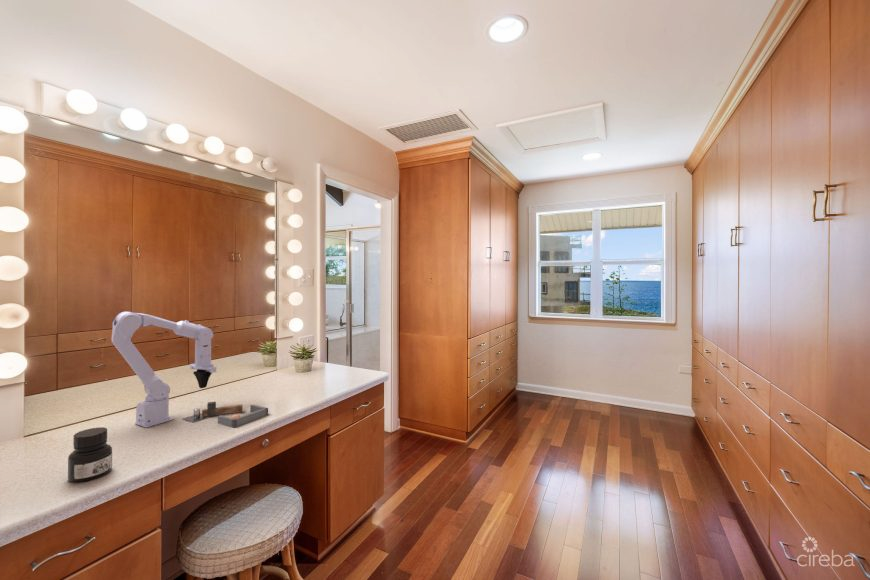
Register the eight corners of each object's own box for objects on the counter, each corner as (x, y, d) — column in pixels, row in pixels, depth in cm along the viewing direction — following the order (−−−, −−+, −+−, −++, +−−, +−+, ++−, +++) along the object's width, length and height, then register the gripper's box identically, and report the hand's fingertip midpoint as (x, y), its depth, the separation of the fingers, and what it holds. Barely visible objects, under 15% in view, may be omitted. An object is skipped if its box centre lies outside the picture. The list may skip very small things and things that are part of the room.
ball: (232, 412, 139) (232, 420, 139) (228, 417, 135) (228, 425, 136) (242, 412, 139) (242, 421, 140) (238, 417, 136) (238, 425, 136)
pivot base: (193, 422, 138) (193, 413, 138) (182, 419, 141) (182, 410, 141) (211, 416, 144) (211, 408, 144) (200, 413, 147) (200, 405, 147)
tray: (233, 427, 133) (233, 420, 133) (217, 423, 137) (217, 416, 137) (268, 414, 147) (268, 408, 147) (252, 411, 151) (253, 404, 151)
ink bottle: (76, 487, 94) (77, 441, 94) (58, 480, 97) (58, 436, 97) (120, 469, 103) (121, 428, 103) (102, 463, 106) (102, 423, 106)
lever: (201, 417, 141) (201, 405, 141) (202, 414, 144) (202, 403, 144) (242, 412, 148) (242, 400, 148) (242, 409, 151) (242, 398, 151)
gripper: (223, 355, 151) (223, 387, 151) (202, 352, 157) (201, 382, 157) (206, 358, 144) (206, 391, 144) (185, 354, 150) (184, 386, 151)
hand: (202, 387), depth 150 cm, fingers closed
